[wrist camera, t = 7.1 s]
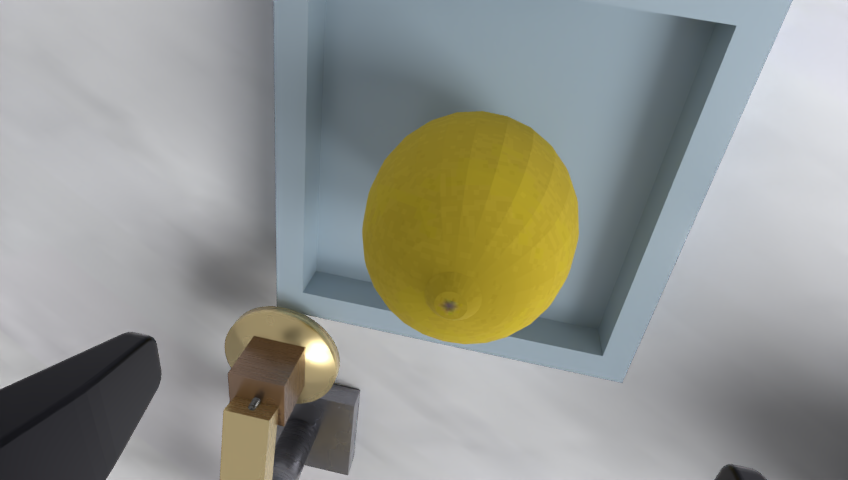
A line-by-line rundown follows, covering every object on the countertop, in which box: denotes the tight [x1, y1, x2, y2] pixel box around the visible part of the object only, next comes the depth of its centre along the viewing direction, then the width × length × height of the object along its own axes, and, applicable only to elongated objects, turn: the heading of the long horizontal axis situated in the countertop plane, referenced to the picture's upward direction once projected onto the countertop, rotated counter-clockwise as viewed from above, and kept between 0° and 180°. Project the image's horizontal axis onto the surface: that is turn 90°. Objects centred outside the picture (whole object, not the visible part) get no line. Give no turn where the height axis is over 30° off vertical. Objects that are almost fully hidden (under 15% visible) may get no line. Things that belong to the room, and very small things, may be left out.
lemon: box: [362, 111, 579, 344], centre depth 14 cm, size 6×6×8 cm
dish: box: [273, 0, 793, 383], centre depth 17 cm, size 13×13×2 cm
